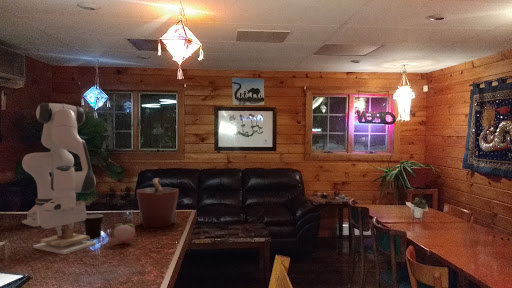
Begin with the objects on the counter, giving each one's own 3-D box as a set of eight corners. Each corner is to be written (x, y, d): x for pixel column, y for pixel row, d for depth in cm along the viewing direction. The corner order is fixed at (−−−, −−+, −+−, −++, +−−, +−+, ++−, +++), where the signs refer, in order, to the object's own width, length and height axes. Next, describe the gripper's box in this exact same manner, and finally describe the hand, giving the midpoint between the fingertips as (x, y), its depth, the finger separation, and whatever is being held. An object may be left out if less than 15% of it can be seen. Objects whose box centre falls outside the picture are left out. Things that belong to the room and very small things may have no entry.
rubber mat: (33, 247, 169) (33, 245, 169) (65, 238, 183) (65, 236, 183) (63, 254, 159) (63, 252, 159) (96, 244, 174) (96, 242, 174)
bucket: (170, 229, 202) (170, 181, 201) (128, 228, 203) (128, 180, 202) (181, 219, 227) (181, 176, 226) (143, 218, 227) (143, 175, 227)
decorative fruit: (112, 247, 170) (112, 224, 170) (114, 242, 178) (114, 220, 178) (135, 245, 173) (135, 223, 172) (135, 240, 181) (135, 219, 180)
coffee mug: (96, 239, 181) (96, 218, 181) (79, 238, 183) (79, 217, 183) (110, 233, 193) (110, 213, 193) (94, 232, 195) (94, 212, 194)
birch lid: (39, 242, 168) (39, 230, 168) (68, 234, 180) (68, 223, 180) (61, 246, 162) (61, 234, 162) (89, 238, 174) (89, 227, 174)
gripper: (80, 199, 181) (80, 228, 182) (38, 206, 163) (38, 239, 164) (89, 200, 179) (89, 230, 179) (48, 207, 160) (48, 241, 161)
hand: (65, 234), depth 171 cm, fingers closed on birch lid, 3 cm apart
